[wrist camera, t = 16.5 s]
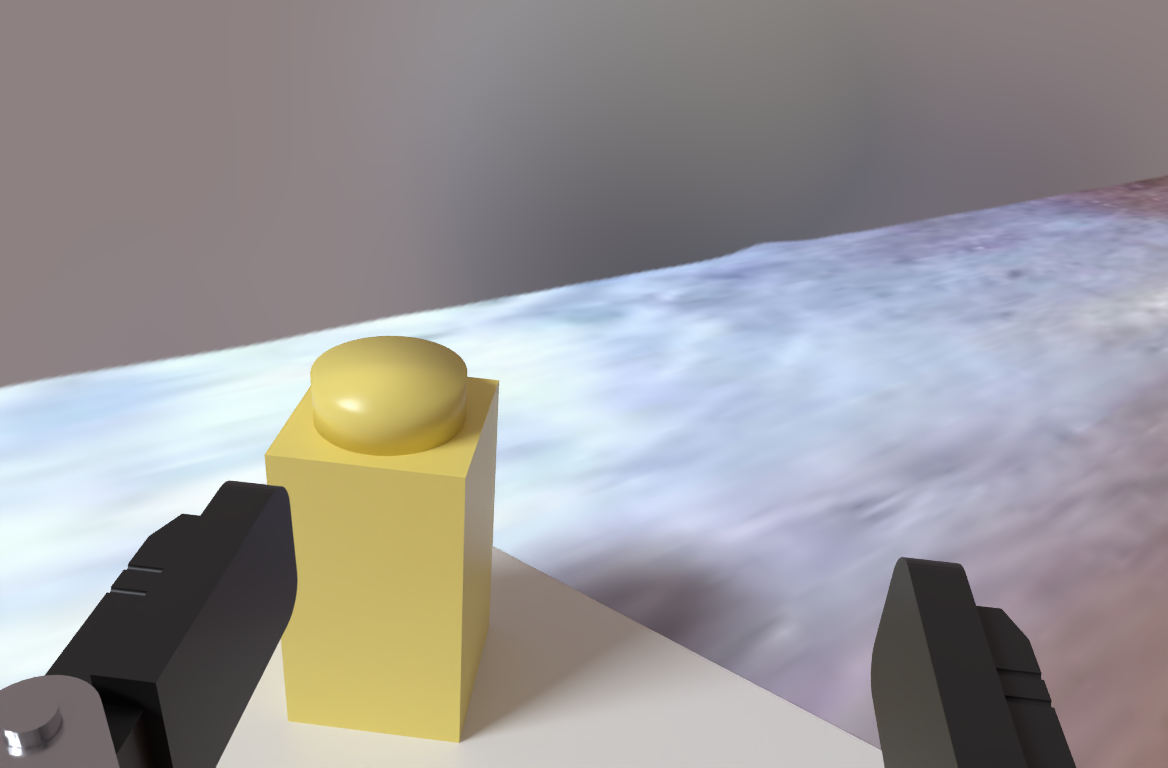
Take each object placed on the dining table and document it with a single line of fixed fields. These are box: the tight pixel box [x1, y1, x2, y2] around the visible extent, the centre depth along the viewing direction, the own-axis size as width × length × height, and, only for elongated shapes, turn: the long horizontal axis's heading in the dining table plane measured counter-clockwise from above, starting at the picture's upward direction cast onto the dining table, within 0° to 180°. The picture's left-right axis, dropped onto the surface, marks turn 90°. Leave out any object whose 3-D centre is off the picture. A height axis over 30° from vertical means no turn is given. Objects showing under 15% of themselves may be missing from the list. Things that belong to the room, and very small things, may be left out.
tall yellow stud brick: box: [265, 336, 499, 743], centre depth 36 cm, size 6×6×13 cm
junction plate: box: [216, 546, 885, 768], centre depth 35 cm, size 16×26×8 cm, turn 55°
